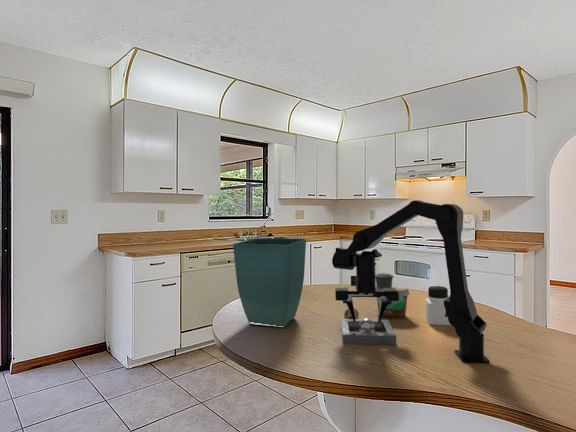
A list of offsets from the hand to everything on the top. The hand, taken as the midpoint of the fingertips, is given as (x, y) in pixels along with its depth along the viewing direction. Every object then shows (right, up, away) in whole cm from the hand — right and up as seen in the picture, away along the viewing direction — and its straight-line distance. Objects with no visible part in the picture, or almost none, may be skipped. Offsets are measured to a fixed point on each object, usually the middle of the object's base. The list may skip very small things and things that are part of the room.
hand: (366, 322), depth 110 cm
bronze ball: (-3, -1, +12) cm, 13 cm away
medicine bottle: (+27, -4, +11) cm, 29 cm away
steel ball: (0, -2, 0) cm, 2 cm away
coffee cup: (+18, -3, +46) cm, 50 cm away
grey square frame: (0, -4, 0) cm, 4 cm away
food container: (+12, -4, +18) cm, 22 cm away
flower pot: (-29, -5, +15) cm, 33 cm away
